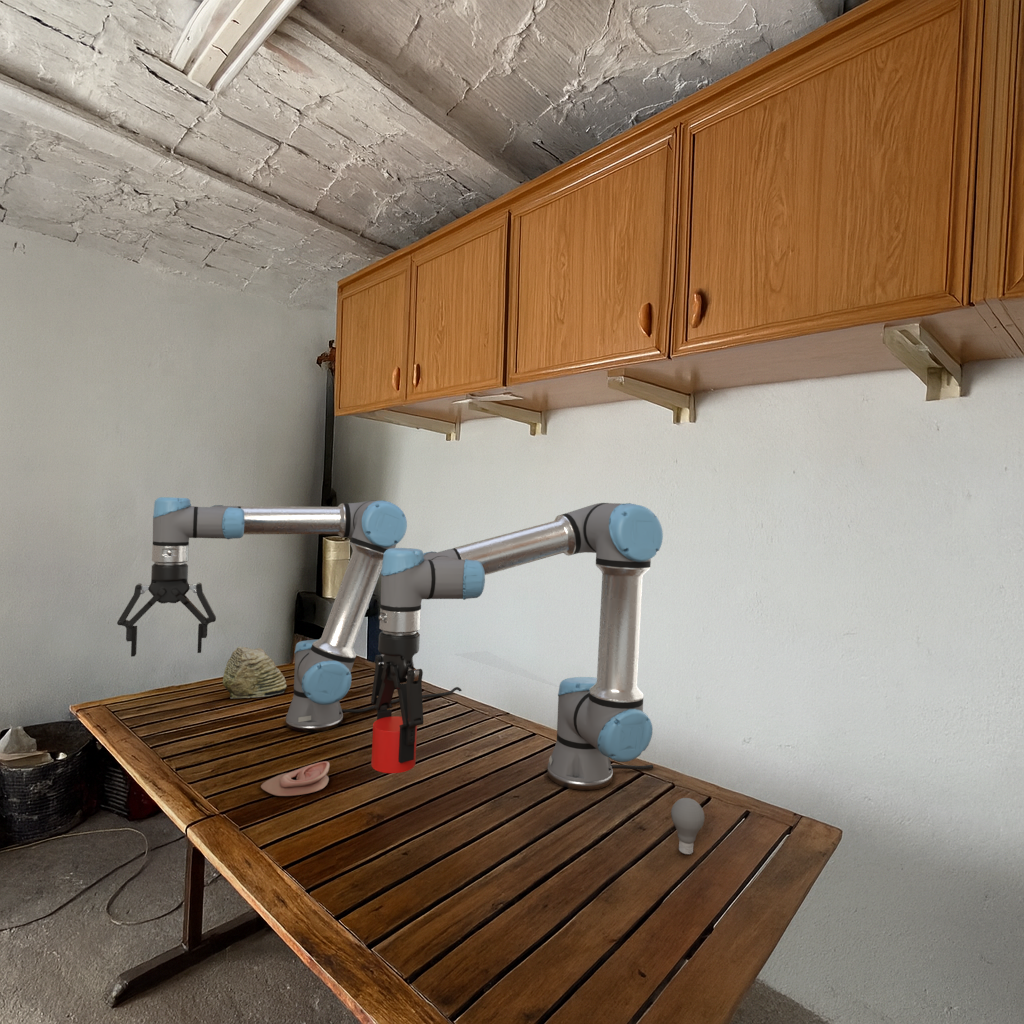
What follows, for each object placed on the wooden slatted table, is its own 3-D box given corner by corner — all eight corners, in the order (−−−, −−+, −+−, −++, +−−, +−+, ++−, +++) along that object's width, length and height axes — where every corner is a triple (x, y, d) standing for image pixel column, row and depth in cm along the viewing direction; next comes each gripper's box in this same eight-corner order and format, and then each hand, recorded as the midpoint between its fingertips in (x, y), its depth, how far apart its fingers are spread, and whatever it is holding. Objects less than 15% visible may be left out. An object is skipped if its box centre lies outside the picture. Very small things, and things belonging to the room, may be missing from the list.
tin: (363, 769, 115) (365, 728, 115) (382, 752, 123) (384, 714, 123) (405, 776, 113) (406, 734, 113) (421, 758, 121) (423, 719, 121)
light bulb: (664, 843, 121) (667, 792, 121) (695, 843, 121) (698, 792, 121) (675, 861, 115) (678, 807, 115) (707, 861, 115) (710, 807, 115)
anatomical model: (253, 773, 134) (283, 753, 145) (252, 792, 134) (282, 770, 145) (310, 782, 131) (336, 760, 142) (309, 801, 131) (335, 777, 143)
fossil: (218, 695, 195) (220, 647, 195) (278, 685, 208) (279, 640, 207) (228, 703, 189) (230, 653, 188) (289, 692, 201) (290, 645, 201)
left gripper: (104, 565, 140) (101, 660, 140) (228, 564, 150) (225, 653, 150) (110, 561, 146) (107, 652, 147) (228, 561, 157) (225, 646, 157)
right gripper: (356, 623, 124) (351, 738, 124) (410, 645, 107) (404, 778, 108) (390, 619, 128) (385, 731, 129) (447, 640, 112) (441, 767, 113)
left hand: (167, 653), depth 149 cm, fingers open, 13 cm apart
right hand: (394, 752), depth 118 cm, fingers closed on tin, 8 cm apart
